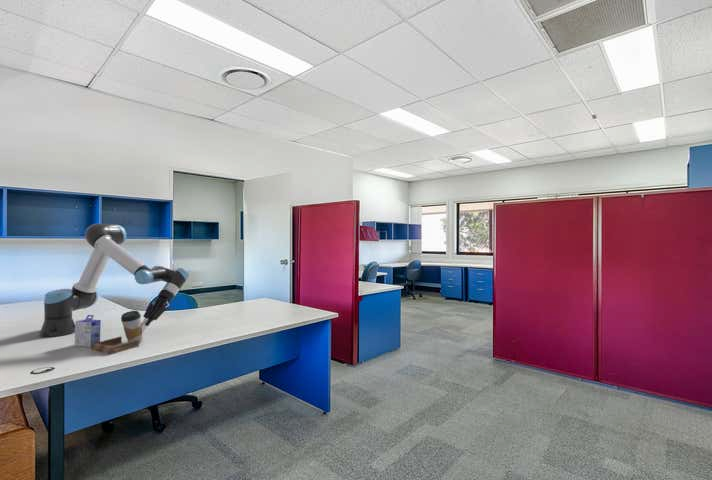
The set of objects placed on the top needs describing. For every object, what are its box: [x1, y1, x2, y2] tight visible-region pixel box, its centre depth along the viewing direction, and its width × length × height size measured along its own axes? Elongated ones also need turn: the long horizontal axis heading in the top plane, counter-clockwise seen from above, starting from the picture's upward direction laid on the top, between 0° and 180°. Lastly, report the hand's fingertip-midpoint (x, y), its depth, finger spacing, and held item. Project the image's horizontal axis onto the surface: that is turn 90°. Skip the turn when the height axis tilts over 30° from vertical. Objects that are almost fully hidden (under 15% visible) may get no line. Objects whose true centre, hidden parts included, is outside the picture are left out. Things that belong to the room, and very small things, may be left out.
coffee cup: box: [120, 310, 144, 343], centre depth 178 cm, size 8×8×15 cm
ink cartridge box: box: [74, 314, 102, 348], centre depth 175 cm, size 10×6×14 cm, turn 78°
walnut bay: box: [91, 336, 140, 355], centre depth 170 cm, size 14×13×3 cm
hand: (140, 330), depth 181 cm, fingers closed
